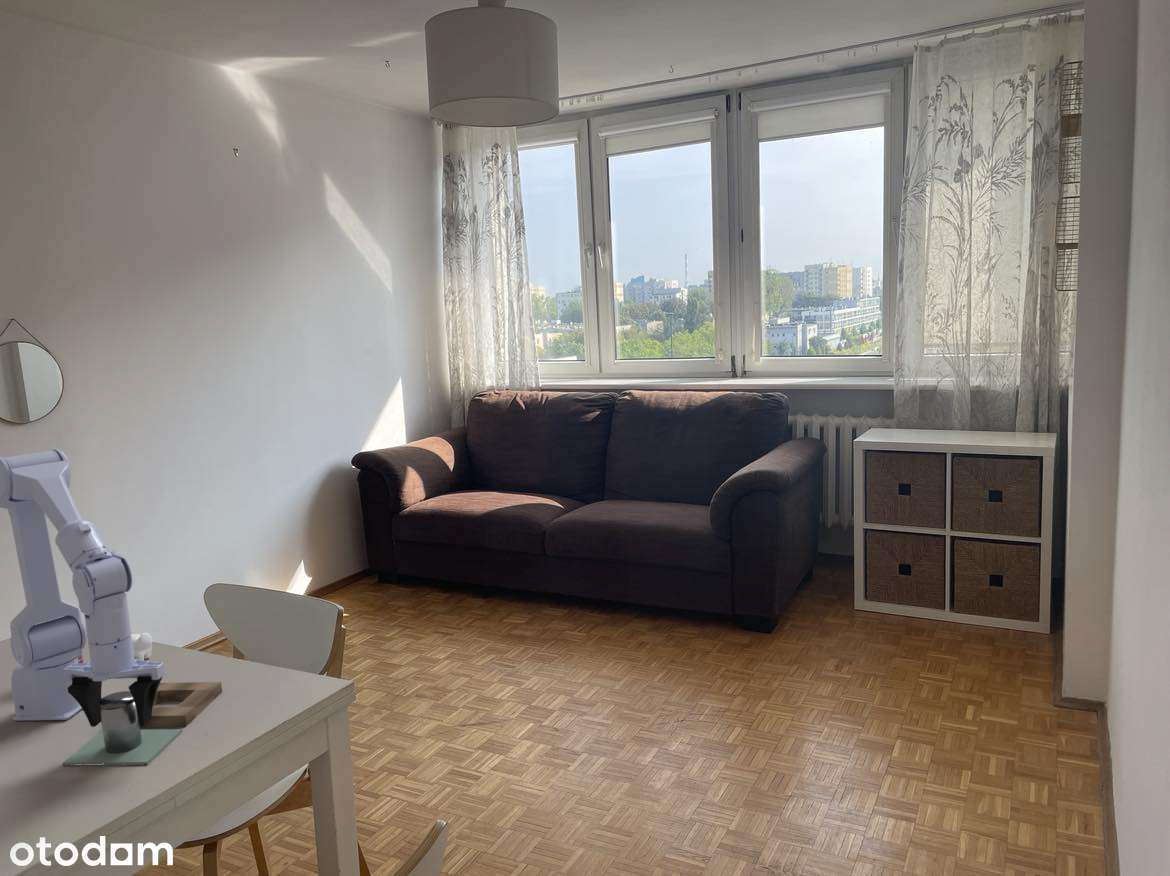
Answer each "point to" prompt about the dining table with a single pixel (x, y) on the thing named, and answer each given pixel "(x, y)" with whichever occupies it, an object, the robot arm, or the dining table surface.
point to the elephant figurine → (142, 645)
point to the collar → (185, 712)
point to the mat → (143, 754)
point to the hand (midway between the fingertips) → (121, 723)
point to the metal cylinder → (119, 722)
